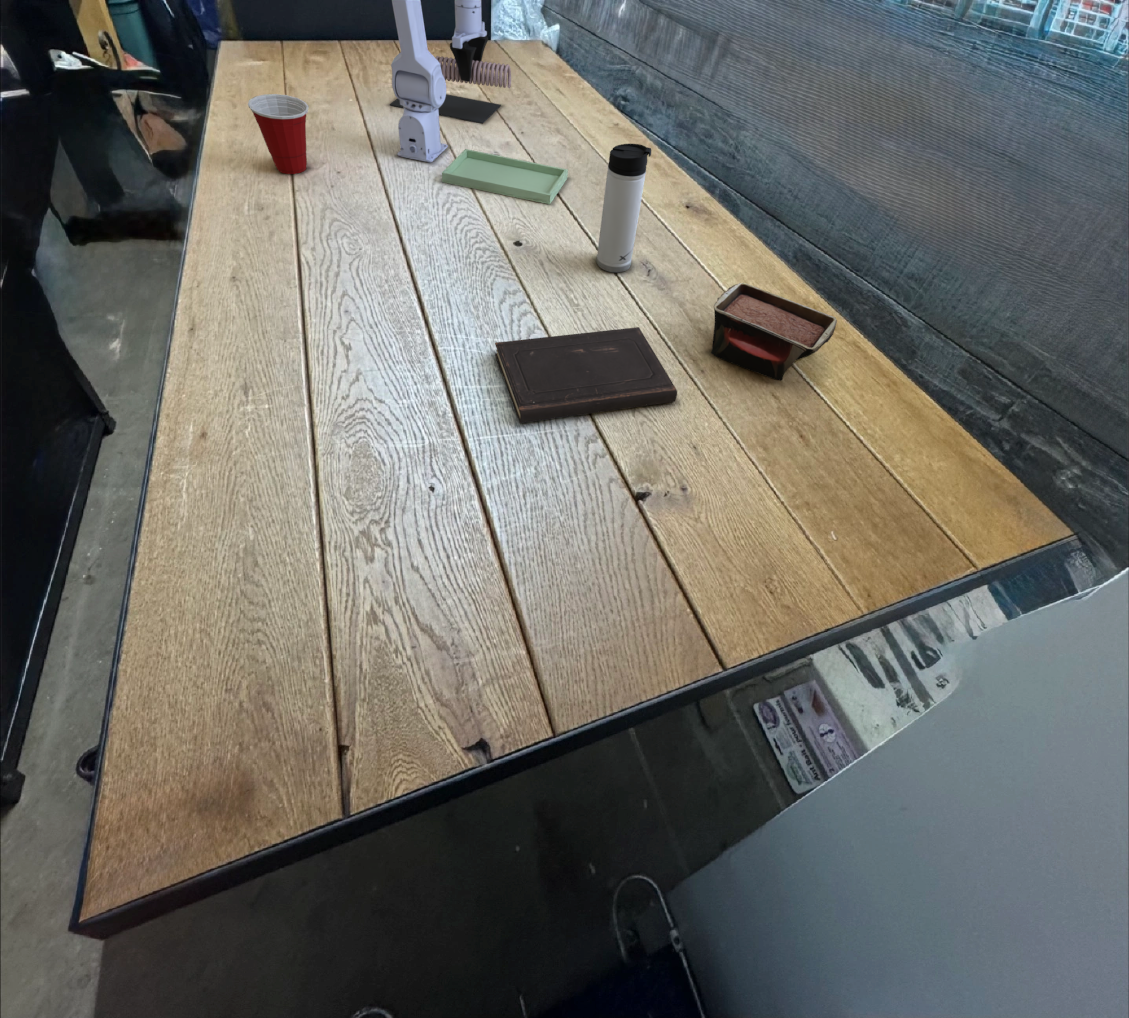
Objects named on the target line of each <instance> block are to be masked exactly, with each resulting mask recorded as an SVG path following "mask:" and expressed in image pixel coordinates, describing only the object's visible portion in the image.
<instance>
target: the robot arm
mask: <svg viewBox="0 0 1129 1018" xmlns="http://www.w3.org/2000/svg"><path fill="white" fill-rule="evenodd" d="M391 5H392V10H393V14H394V21H395V26H396V32H397V36H398V43H399V50H400V52H399V53H398V54H396V56H395V57H394V58H393V60H392V62H391V63H390V66H391V87H392V91H393V94H394V96H395V98H396V99H397V98H398V99H400V105H402V106H403V107H404V108H403V112H402V115H401V117H400V119H399V120H398V126H397V127H398V136H399V137H398V138H399V146H400V147H399V148H400V150H399V151H398V152H397V154H396V155H397V156H398V157H400V158H401V157H402V158H407V159H411V160H414V161H420V162H425V163H433V162H434V161H435V160H436V159H437V158H438V157H439V156H440V155H441V154H442V153H444V151H446V150H447V148H448V147H449V146H448V144H446V143H443V142H441V127H440V115H439V110H438V108H439V107H441V105H442V104H443V102H444V100H445V97H446V94H447V82H446V81H445V79H444V77H443V75H442V71H441V66H440V63H439V62H438V61H437V59H436V58H435V57H436V56H434V55H433V54H432V53H431V52H430V50H429V49H428V42H427V36H426V30H425V23H424V22H425V21H424V15H423V8H422V2H421V0H391ZM454 17H455V22H454V23H455V28H454V32H453V36H452V37H451V42H450V43H449V50H450V51H451V53H452V55H453V58H455V60H456V63H457V66H458V70H459V75H460V78H461V80H462V81H468V83H469V81H470V79H471V71H472V70H473V67H472V61H473V60H474V61H479V62H480V61H482V60H483V56H484V51H485V48H486V46H487V44H488V42H489V37H488V36H487V35H488V31H487V30H485V29H486V27H485V26H486V25H485V24H486V23H485V21H482V20H483V19H482V0H454ZM456 63H455V64H456ZM477 69H478V68H477Z"/></svg>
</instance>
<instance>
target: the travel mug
mask: <svg viewBox="0 0 1129 1018" xmlns="http://www.w3.org/2000/svg"><path fill="white" fill-rule="evenodd" d="M651 156H652V148H651V147H647V146H646V145H643V144H640V143H622V144H621V143H620V144H618V145H617V144H616V145H615V146H613V147H612V149H611V150H610V151H609V158H608V164H607V171H606V180H605V187H604V195H603V204H602V210H601V211H602V212H601V219H600V228H599V237H598V244H597V253H596V259H595V260H596V264H597V266H598V267H599V268H600V269H602V270H603V271H605V272H608V273H623V272H625V271H628V270H629V269H630V268H631V266H632V258H633V253H634V247H635V241H636V235H637V229H638V223H639V216H640V211H641V206H642V205H641V204H642V199H643V193H644V187H645V180H646V174H647V165H648V157H651Z"/></svg>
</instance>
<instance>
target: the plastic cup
mask: <svg viewBox="0 0 1129 1018" xmlns="http://www.w3.org/2000/svg"><path fill="white" fill-rule="evenodd" d="M247 106H248V108H249V109H250V111H251V113H252V114H253V116H254V118H255V121H256V123H257V125H258V127H259V130H260V132H261V135H262V138H263V139H264V140H263V141H264V142H265V145H266V147H267V151H268V152H269V154H270V157H271V158H272V161H273V163H274V166H275V167H276V169H277V171H278V172H280V173H282V174H286V175H297V174H300V173H303V172H305V171H306V170H307V164H308V161H307V128H306V127H307V126H306V123H307V114H309V104H308V103H307V102H306V101H304V100H303V99H300V98H298V97H297V96H296V97H295V96H292V95H287V94H279V93H269V94H267V93H265V94H264V93H263V94H259V95H256V96H253V97H252V98H250V99H249V100H248V102H247Z"/></svg>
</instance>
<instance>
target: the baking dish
mask: <svg viewBox="0 0 1129 1018" xmlns="http://www.w3.org/2000/svg"><path fill="white" fill-rule="evenodd" d="M713 310H714V312H713V313H714V324H713V335H712V344H711V350H710V351H711V352H710V354H711V355H713V356H714V357H716V358H719V359H721V360H723V361H726V362H728V363H730V364H733V365H735V366H737V367H739V368H740V367H741V368H743V369H745V370H748V371H750V372H754V373H756V374H759V375H760V376H765V377H767V378H770V379H772V380H775V381H783V379H784V376H785V374H786V372H787V371H788V370H789V369H790V368H791V366H792V365H793V364H794V363H795V362H796V361H798V360H799V361H800V360H801V359H803V358H807V357H809V356H811V355H813V354H815V353H817V352H818V351H819V350H820V349H821V348H822V347H823V346H824V345H825V344H826V343H828V342H829V341H830V340H831V339H832V337H833V336H834V334H835V330H836V326H837V322H838V320H837V318H836V317H835V316H833V315H831V314H830V315H829V314H827V313H825V312H822V311H819V310H817V309H814V308H811V307H809V306H807V305H803V304H801V303H798V302H795V301H793V300H790V299H788V298H786V297H783V296H780V295H778V294H775V293H772V292H770V291H768V290H764V289H762V288H759V287H757V286H753V285H751V284H750V283H749V284H748V283H744V282H739V283H736V284H733V285H732V286H729V288H728V289H726V291H725V292H723V293H722V294H721V295H720V296H719V297H717V299H716V301H715V303H714V304H713Z"/></svg>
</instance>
